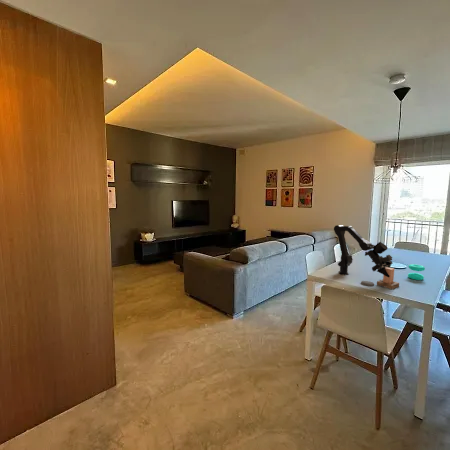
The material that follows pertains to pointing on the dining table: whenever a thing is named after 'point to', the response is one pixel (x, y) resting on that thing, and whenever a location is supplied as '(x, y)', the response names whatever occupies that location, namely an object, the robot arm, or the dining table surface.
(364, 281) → the pad
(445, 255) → the dining table surface
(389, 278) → the peg
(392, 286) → the socket plate
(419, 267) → the donuts
